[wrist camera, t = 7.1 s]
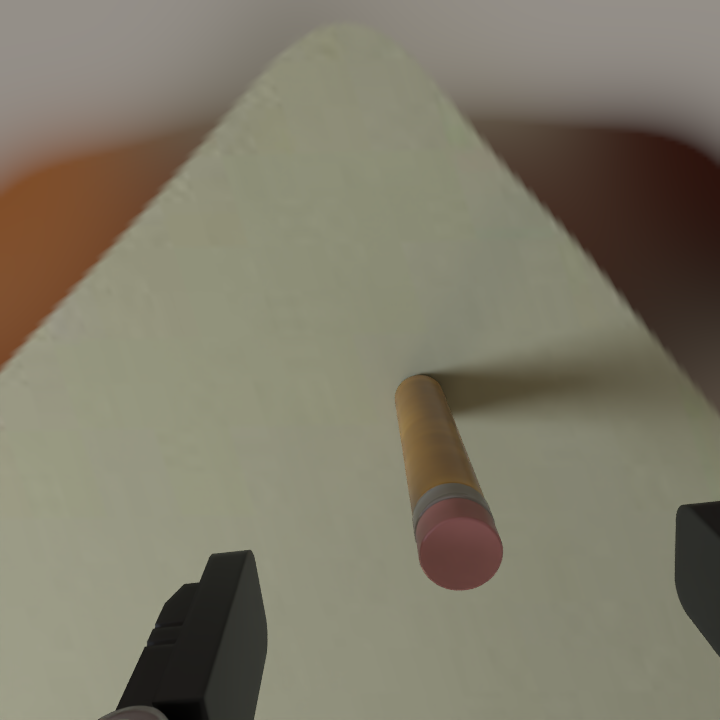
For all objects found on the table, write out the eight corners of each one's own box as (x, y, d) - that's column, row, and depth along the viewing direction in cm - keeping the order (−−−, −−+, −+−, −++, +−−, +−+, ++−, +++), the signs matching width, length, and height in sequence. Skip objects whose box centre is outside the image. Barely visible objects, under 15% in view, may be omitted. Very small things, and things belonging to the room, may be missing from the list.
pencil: (427, 364, 20) (477, 501, 11) (453, 404, 20) (520, 567, 12) (384, 390, 20) (401, 543, 12) (410, 429, 21) (445, 606, 12)
